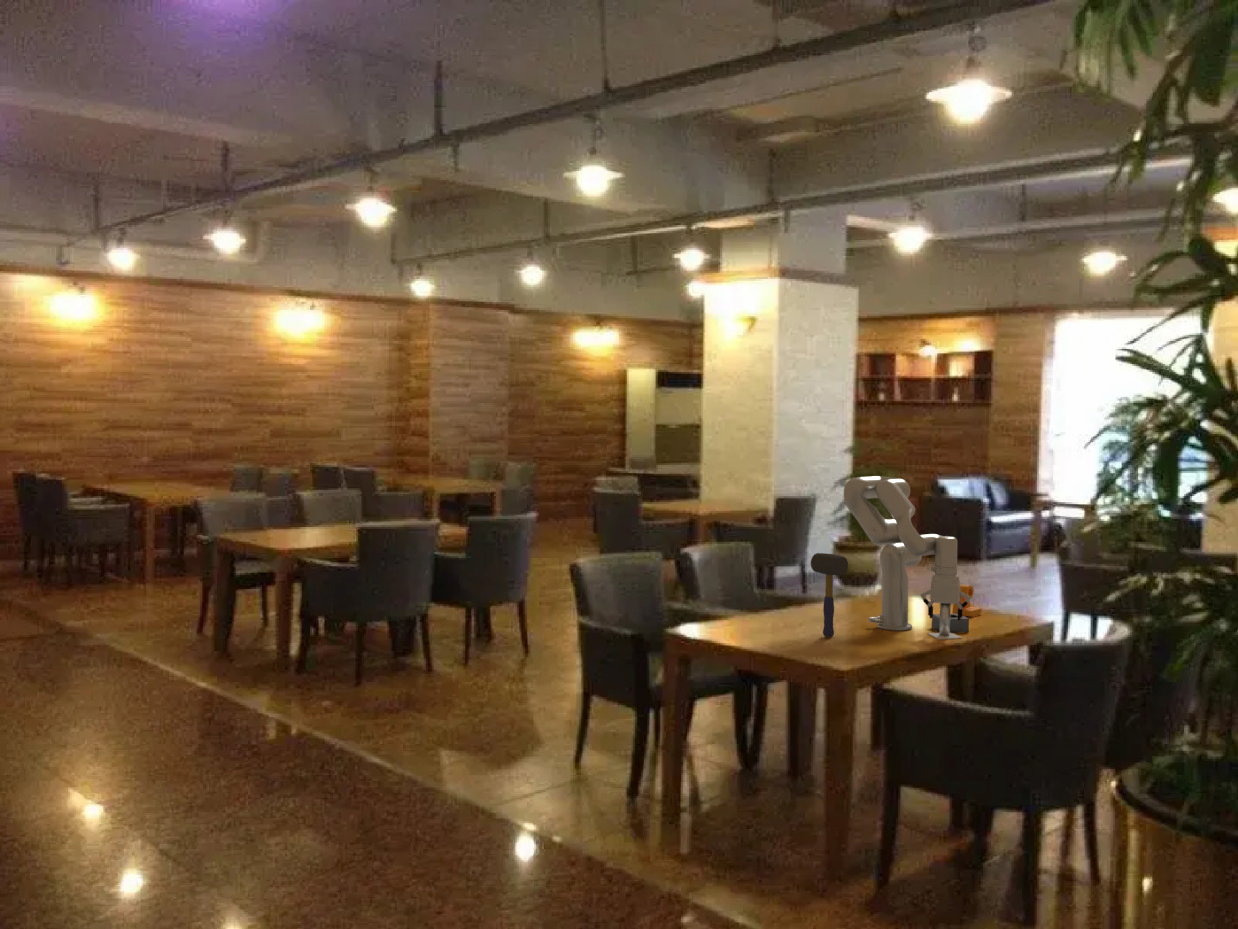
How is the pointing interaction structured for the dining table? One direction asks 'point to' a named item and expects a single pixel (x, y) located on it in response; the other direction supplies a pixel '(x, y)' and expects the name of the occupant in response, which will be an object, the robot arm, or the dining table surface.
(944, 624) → the steel peg
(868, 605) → the dining table surface
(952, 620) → the chuck block
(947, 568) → the robot arm
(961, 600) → the bracket
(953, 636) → the pad
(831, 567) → the rubber mallet
